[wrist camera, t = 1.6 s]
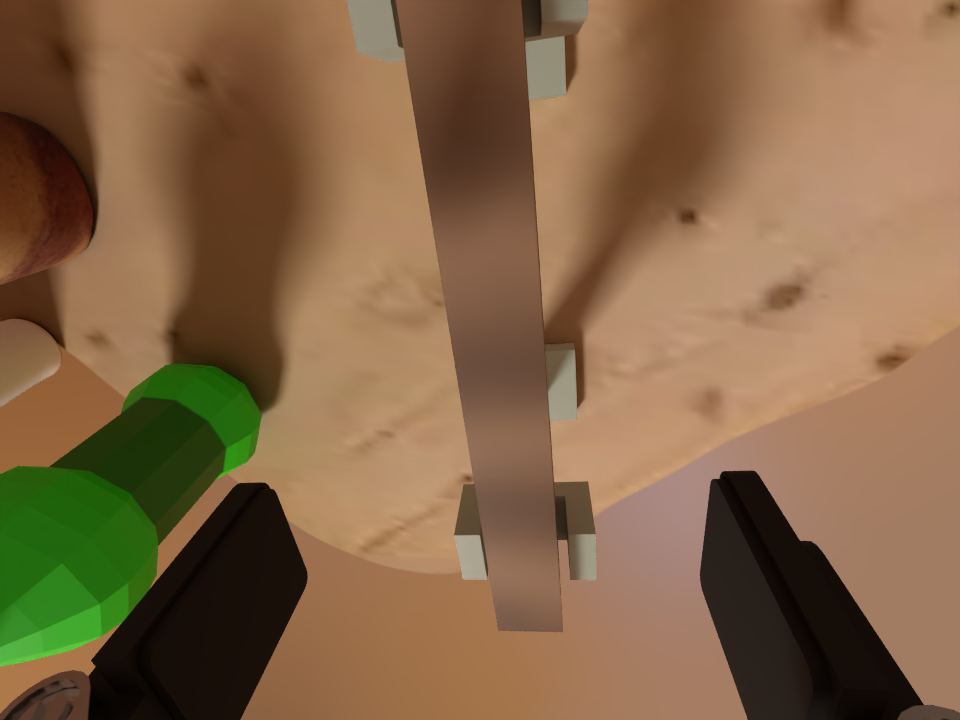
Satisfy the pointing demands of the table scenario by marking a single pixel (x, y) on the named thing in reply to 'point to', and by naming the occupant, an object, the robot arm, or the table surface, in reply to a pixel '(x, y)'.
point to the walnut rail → (491, 281)
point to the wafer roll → (38, 201)
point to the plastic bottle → (113, 508)
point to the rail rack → (547, 19)
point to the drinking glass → (25, 357)
